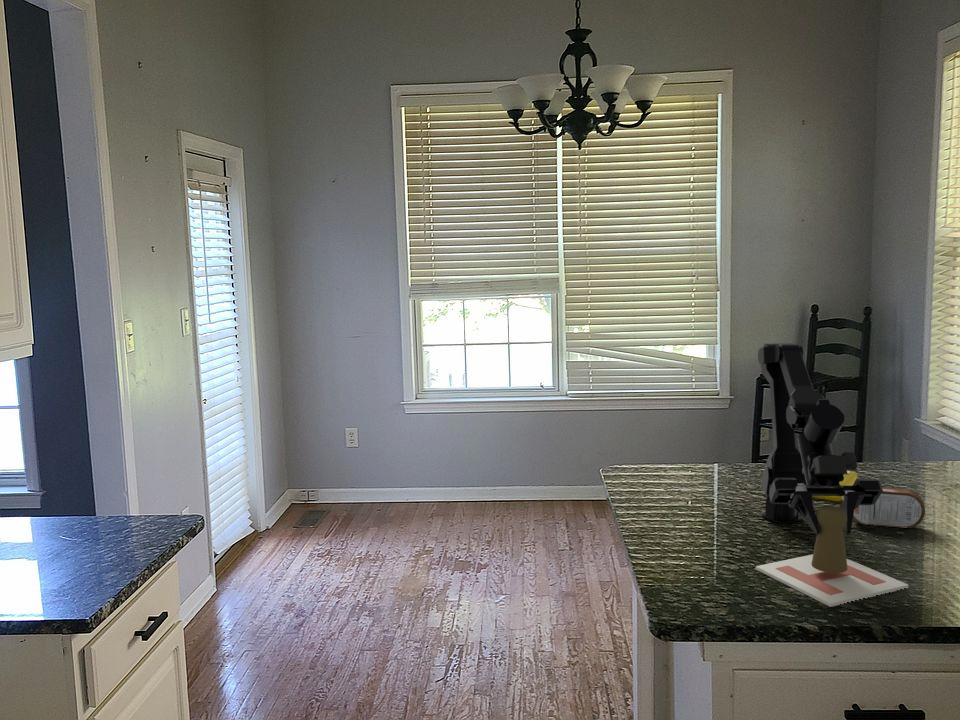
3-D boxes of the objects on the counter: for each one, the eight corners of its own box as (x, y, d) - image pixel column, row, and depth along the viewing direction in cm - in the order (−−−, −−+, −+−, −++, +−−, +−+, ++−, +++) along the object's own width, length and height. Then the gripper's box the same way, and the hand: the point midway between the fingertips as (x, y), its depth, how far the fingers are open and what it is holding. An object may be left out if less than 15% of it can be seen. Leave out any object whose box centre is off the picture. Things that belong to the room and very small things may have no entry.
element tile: (797, 479, 214) (797, 461, 213) (858, 488, 204) (859, 470, 204) (776, 493, 202) (777, 474, 201) (841, 504, 193) (841, 484, 192)
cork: (855, 569, 147) (858, 510, 146) (830, 575, 145) (833, 515, 143) (827, 557, 153) (830, 500, 151) (803, 563, 150) (806, 505, 149)
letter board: (828, 553, 161) (828, 550, 161) (908, 587, 144) (908, 584, 144) (755, 569, 154) (755, 565, 154) (830, 606, 137) (830, 602, 137)
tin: (922, 527, 175) (924, 488, 174) (925, 532, 172) (927, 493, 171) (845, 520, 180) (847, 483, 179) (846, 525, 177) (848, 487, 176)
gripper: (774, 435, 150) (788, 513, 141) (881, 435, 148) (902, 514, 139) (763, 465, 159) (775, 540, 150) (864, 466, 157) (882, 542, 148)
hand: (833, 534), depth 147 cm, fingers closed on cork, 5 cm apart
